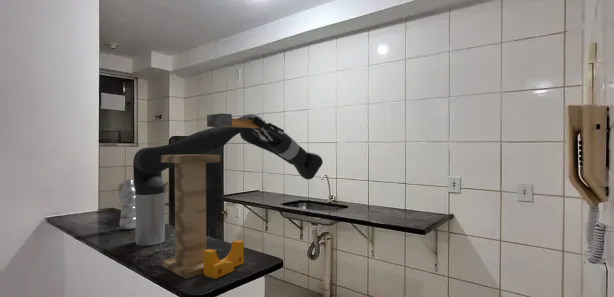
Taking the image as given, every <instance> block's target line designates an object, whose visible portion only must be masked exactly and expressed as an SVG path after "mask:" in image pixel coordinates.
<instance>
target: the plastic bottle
mask: <svg viewBox="0 0 614 297" xmlns="http://www.w3.org/2000/svg"><path fill="white" fill-rule="evenodd" d="M122 186H123V187H121V190H120V191H119V192H118V193H119V195H118V196H119V201H120V219H119V227H120V229H121V230H128V231H129V229H130V230H134V229H136V202H135V186H134V179H125V180H123V182H122Z"/></svg>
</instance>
